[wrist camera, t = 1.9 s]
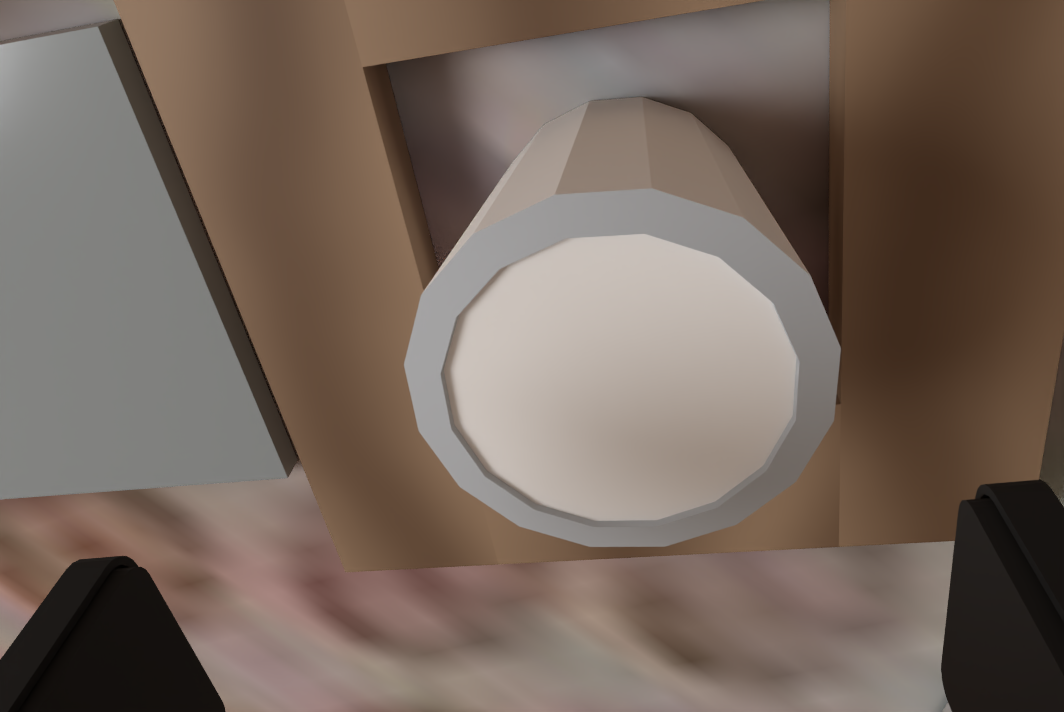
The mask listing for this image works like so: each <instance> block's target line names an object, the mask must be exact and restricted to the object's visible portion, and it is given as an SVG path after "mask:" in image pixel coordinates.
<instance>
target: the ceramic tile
mask: <svg viewBox="0 0 1064 712" xmlns="http://www.w3.org/2000/svg"><path fill="white" fill-rule="evenodd" d="M296 462H297V457H296V455H295V452H294V450H293V447H292V445H291V442H290V440H289V437H288V435H287V433H286V430H285V428H284V425H283V423H282V420H281V418H280V415H279V413H278V410H277V408H276V406H275V403H274V401H273V398H272V396H271V393H270V391H269V388H268V386H267V383H266V381H265V379H264V376H263V374H262V371H261V369H260V366H259V364H258V361H257V359H256V356H255V354H254V352H253V349H252V347H251V344H250V342H249V339H248V337H247V334H246V332H245V329H244V327H243V325H242V322H241V320H240V317H239V315H238V312H237V310H236V307H235V305H234V302H233V300H232V298H231V295H230V293H229V290H228V288H227V285H226V283H225V280H224V278H223V275H222V273H221V271H220V268H219V266H218V263H217V261H216V258H215V256H214V253H213V251H212V248H211V246H210V244H209V241H208V239H207V236H206V234H205V231H204V229H203V226H202V224H201V221H200V219H199V217H198V214H197V212H196V209H195V207H194V204H193V202H192V199H191V197H190V194H189V192H188V190H187V187H186V185H185V182H184V180H183V177H182V175H181V172H180V170H179V167H178V165H177V163H176V160H175V158H174V155H173V153H172V150H171V148H170V145H169V143H168V140H167V138H166V136H165V133H164V131H163V128H162V126H161V123H160V121H159V118H158V116H157V113H156V111H155V109H154V106H153V104H152V101H151V99H150V96H149V94H148V91H147V89H146V86H145V84H144V82H143V79H142V77H141V74H140V72H139V69H138V67H137V64H136V62H135V59H134V57H133V55H132V52H131V50H130V47H129V45H128V42H127V40H126V37H125V35H124V32H123V30H122V28H121V25H120V23H119V20H118V19H115V20H110V21H105V22H99V23H94V24H89V25H83V26H78V27H73V28H67V29H62V30H57V31H51V32H46V33H41V34H36V35H30V36H25V37H20V38H14V39H9V40H4V41H0V499H11V498H25V497H38V496H52V495H65V494H79V493H92V492H106V491H119V490H133V489H146V488H160V487H173V486H187V485H200V484H214V483H227V482H241V481H254V480H268V479H281V478H288V477H289V475H290V473H291V471H292V469H293V467H294V465H295V464H296Z"/></svg>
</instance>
